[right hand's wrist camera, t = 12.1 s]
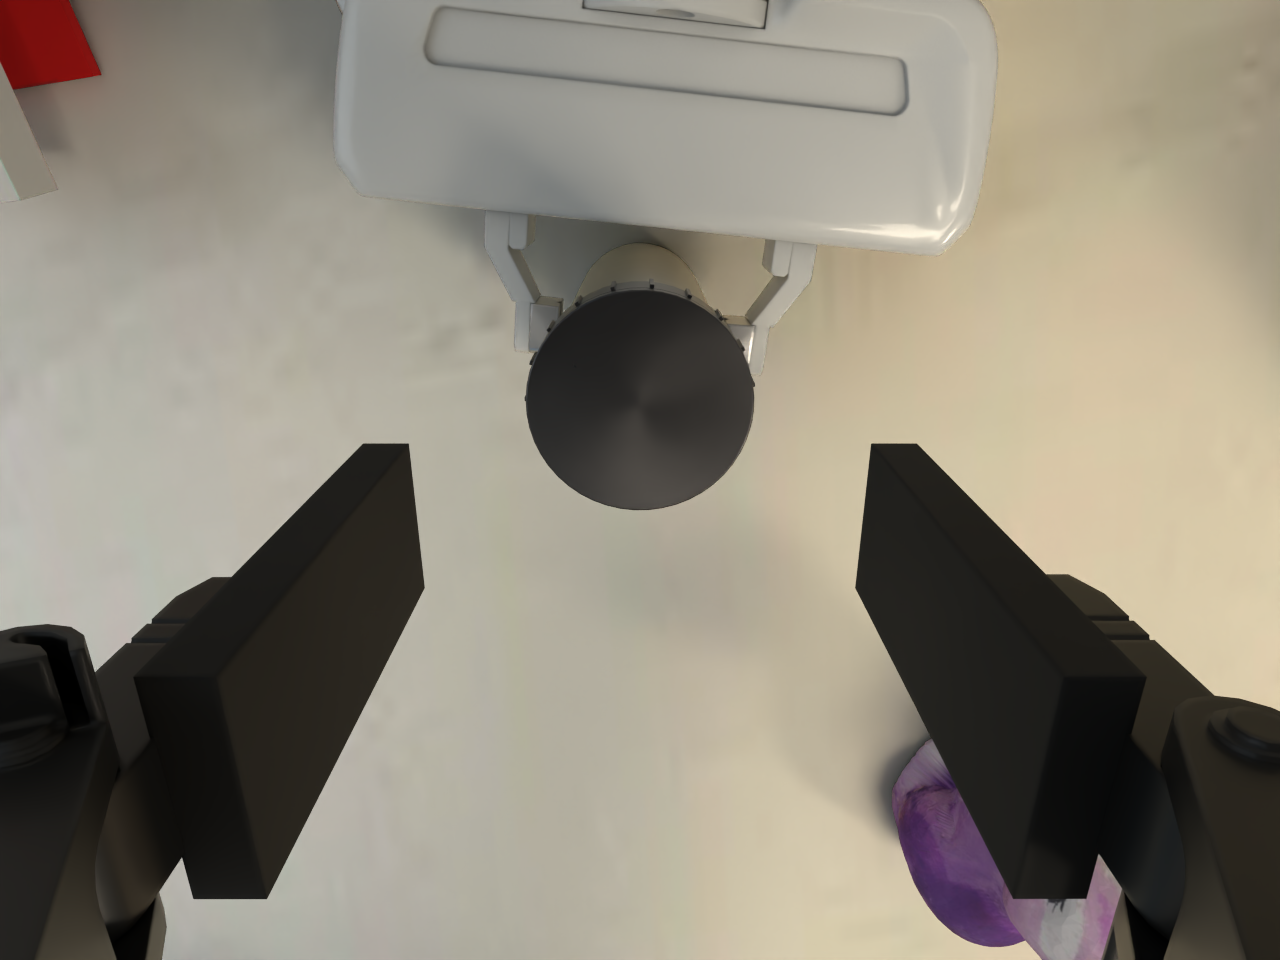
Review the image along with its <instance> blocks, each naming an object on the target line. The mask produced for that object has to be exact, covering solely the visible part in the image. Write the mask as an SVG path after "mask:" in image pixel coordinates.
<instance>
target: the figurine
mask: <svg viewBox="0 0 1280 960" xmlns="http://www.w3.org/2000/svg"><path fill="white" fill-rule="evenodd" d="M892 808H893V813H894V817H895V820H896V824H897V828H898V833H899V839H900V843H901V847H902V850H903V853H904V856H905V859H906V862H907V864H908V867H909V871H910V873H911V876H912V878H913V881H914V883H915V885H916V887H917V889H918V891H919V893H920V894H921V896H922V898H923V899H924V901H925V902H926V904H927V906H928V907H929V908H930V909H931V911H932V912H933V913H934V915H935V916H936V917H937V918H938V919H939V920H940V921H941V922H942V923H943V924H944V925H945V926H946V927H947V928H949V929H950V930H951V931H952V932H953V933H955V934H956V935H958V936H960V937H961V938H963V939H965V940H967V941H969V942H972V943H975V944H979V945H982V946H988V947H1004V946H1010V945H1014V944H1017V943H1019V942H1022V941H1025V940H1026V942H1027V943H1028V944H1029V945H1030V946H1031V947H1032V948H1033V949H1034V951H1035V952H1036V953H1037V954H1038V955H1039V956H1040V958H1041V959H1042V960H1101V959H1102V955H1103V952H1104V948H1105V945H1106V942H1107V938H1108V935H1109V931H1110V928H1111V924H1112V921H1113V918H1114V914H1115V911H1116V907H1117V904H1118V901H1119V897H1120V894H1121V890H1122V888H1121V886H1120V885H1119V883H1118V882H1117V880H1116V879H1115V877H1114V876H1113V874H1112V873H1111V871H1110V870H1109V868H1108V867H1107V865H1106V864H1105V862H1104V861H1103V859H1102V858H1101V856H1100V855H1098V858H1097V862H1096V866H1095V869H1094V873H1093V877H1092V880H1091V884H1090V888H1089V891H1088V895H1087V899H1013V898H1012V896H1011V894H1010V892H1009V890H1008V888H1007V886H1006V884H1005V882H1004V880H1003V878H1002V876H1001V874H1000V872H999V870H998V868H997V866H996V864H995V862H994V860H993V858H992V856H991V854H990V852H989V850H988V848H987V846H986V845H985V843H984V841H983V839H982V837H981V835H980V833H979V831H978V829H977V827H976V825H975V823H974V821H973V819H972V817H971V815H970V813H969V811H968V809H967V807H966V805H965V803H964V801H963V799H962V797H961V795H960V793H959V791H958V789H957V787H956V785H955V783H954V781H953V779H952V777H951V776H950V774H949V772H948V770H947V768H946V766H945V764H944V762H943V760H942V758H941V756H940V754H939V752H938V750H937V748H936V746H935V744H934V742H933V740H932V739H930V740H928V741H927V742H925V745H923V746H922V747H921V748H920V749H919V750H918V751H917V752H916V755H915V756H914V757H912V758H911V760H910V762H909V763H908V764H907V765H906V767H905V768H904V769H903V771H902V773H901V775H900V776H899V778H898V780H897V782H896V783H895V785H894V787H893V789H892Z"/></svg>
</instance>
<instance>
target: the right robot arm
mask: <svg viewBox="0 0 1280 960" xmlns="http://www.w3.org/2000/svg"><path fill="white" fill-rule="evenodd" d="M424 588H425V587H424V578H423V569H422V560H421V551H420V542H419V533H418V523H417V514H416V505H415V496H414V487H413V478H412V469H411V460H410V451H409V444H362V445H361V446H360V447H359V448H358V449H357V450H356V451H355V453H354V454H353V455H352V456H351V457H350V458H349V459H348V460H347V461H346V462H345V463H344V464H343V465H342V466H341V467H340V468H339V469H338V470H337V471H336V472H335V473H334V474H333V475H332V476H331V477H330V478H329V479H328V480H327V481H326V482H325V483H324V484H323V485H322V486H321V487H320V488H319V489H318V490H317V491H316V492H315V493H314V494H313V495H312V496H311V497H310V498H309V499H308V500H307V501H306V502H305V503H304V504H303V505H302V506H301V507H300V508H299V509H298V510H297V511H296V512H295V513H294V514H293V515H292V516H291V517H290V518H289V519H288V520H287V521H286V522H285V523H284V524H283V525H282V526H281V528H280V529H279V530H278V531H277V532H276V533H275V534H274V535H273V536H272V537H271V538H270V539H269V540H268V541H267V542H266V543H265V544H264V545H263V546H262V547H261V548H260V549H259V550H258V551H257V552H256V553H255V554H254V555H253V556H252V557H251V558H250V559H249V560H248V561H247V562H246V563H245V564H244V565H243V566H242V567H241V568H240V569H239V570H238V571H237V572H236V573H235V574H234V575H233V576H232V577H212V578H210V579H208V580H206V581H204V582H202V583H201V584H199V585H197V586H195V587H193V588H191V589H189V590H188V591H186V592H184V593H182V594H180V595H178V596H176V597H175V598H174V599H173V600H172V601H171V602H170V603H169V604H168V605H167V606H166V607H164V608H163V609H162V610H161V611H160V612H159V613H158V614H157V615H156V616H155V617H154V618H153V619H152V624H146V625H145V626H144V627H143V628H142V629H141V630H140V631H139V632H138V633H137V634H136V635H135V636H133V637H132V641H131V643H126V644H125V645H124V646H123V647H122V648H121V649H120V650H118V651H117V652H116V653H115V654H114V655H113V656H112V657H111V658H110V659H109V660H108V661H107V662H106V663H105V664H103V665H102V666H101V667H100V668H99V669H98V670H97V671H96V672H95V671H94V668H93V665H92V661H91V658H90V654H89V651H88V648H87V644H86V641H85V637H84V635H83V634H81V633H80V632H78V631H77V630H75V629H73V628H72V627H67V626H59V625H50V624H44V625H34V626H23V627H15V628H11V629H7V630H3V631H0V960H162V955H163V948H164V941H165V934H166V928H167V926H166V919H165V912H164V907H163V904H162V901H161V897H160V894H159V891H160V889H161V888H162V886H163V885H164V883H165V882H166V880H167V879H168V877H169V876H170V874H171V873H172V871H173V870H174V868H175V867H176V865H177V864H178V862H179V861H180V859H181V858H183V862H184V866H185V869H186V873H187V877H188V880H189V884H190V888H191V891H192V895H193V899H267V898H268V896H269V894H270V892H271V890H272V888H273V886H274V884H275V882H276V880H277V878H278V876H279V874H280V872H281V870H282V868H283V866H284V864H285V862H286V860H287V858H288V856H289V854H290V852H291V850H292V848H293V846H294V845H295V843H296V841H297V839H298V837H299V835H300V833H301V831H302V829H303V827H304V825H305V823H306V821H307V819H308V817H309V815H310V813H311V811H312V809H313V807H314V805H315V803H316V801H317V799H318V797H319V795H320V793H321V791H322V789H323V787H324V785H325V783H326V781H327V779H328V777H329V775H330V774H331V772H332V770H333V768H334V766H335V764H336V762H337V760H338V758H339V756H340V754H341V752H342V750H343V748H344V746H345V744H346V742H347V740H348V738H349V736H350V734H351V732H352V730H353V728H354V726H355V724H356V722H357V720H358V718H359V716H360V714H361V712H362V710H363V708H364V706H365V705H366V703H367V701H368V699H369V697H370V695H371V693H372V691H373V689H374V687H375V685H376V683H377V681H378V679H379V677H380V675H381V673H382V671H383V669H384V667H385V665H386V663H387V661H388V659H389V657H390V655H391V653H392V651H393V649H394V647H395V645H396V643H397V641H398V639H399V637H400V635H401V634H402V632H403V630H404V628H405V626H406V624H407V622H408V620H409V618H410V616H411V614H412V612H413V610H414V608H415V606H416V604H417V602H418V600H419V598H420V596H421V594H422V592H423V590H424ZM855 588H856V590H857V592H858V594H859V596H860V598H861V600H862V602H863V604H864V606H865V608H866V610H867V612H868V614H869V616H870V618H871V620H872V622H873V624H874V626H875V628H876V630H877V632H878V634H879V635H880V637H881V639H882V641H883V643H884V645H885V647H886V649H887V651H888V653H889V655H890V657H891V659H892V661H893V663H894V665H895V667H896V669H897V671H898V673H899V675H900V677H901V679H902V681H903V683H904V685H905V687H906V689H907V691H908V693H909V695H910V697H911V699H912V701H913V703H914V705H915V706H916V708H917V710H918V712H919V714H920V716H921V718H922V720H923V722H924V724H925V726H926V728H927V730H928V732H929V734H930V736H931V738H932V740H933V742H934V744H935V746H936V748H937V750H938V752H939V754H940V756H941V758H942V760H943V762H944V764H945V766H946V768H947V770H948V772H949V774H950V776H951V777H952V779H953V781H954V783H955V785H956V787H957V789H958V791H959V793H960V795H961V797H962V799H963V801H964V803H965V805H966V807H967V809H968V811H969V813H970V815H971V817H972V819H973V821H974V823H975V825H976V827H977V829H978V831H979V833H980V835H981V837H982V839H983V841H984V843H985V845H986V846H987V848H988V850H989V852H990V854H991V856H992V858H993V860H994V862H995V864H996V866H997V868H998V870H999V872H1000V874H1001V876H1002V878H1003V880H1004V882H1005V884H1006V886H1007V888H1008V890H1009V892H1010V894H1011V896H1012V898H1013V899H1087V895H1088V891H1089V888H1090V884H1091V880H1092V877H1093V873H1094V869H1095V866H1096V862H1097V858H1098V855H1100V856H1101V858H1102V859H1103V861H1104V862H1105V864H1106V865H1107V867H1108V868H1109V870H1110V871H1111V873H1112V874H1113V876H1114V877H1115V879H1116V880H1117V882H1118V883H1119V885H1120V886H1121V888H1122V890H1121V894H1120V897H1119V901H1118V904H1117V907H1116V911H1115V914H1114V918H1113V921H1112V924H1111V928H1110V931H1109V935H1108V938H1107V942H1106V945H1105V948H1104V952H1103V955H1102V959H1101V960H1280V711H1278V710H1276V709H1273V708H1271V707H1267V706H1264V705H1260V704H1257V703H1253V702H1250V701H1246V700H1243V699H1239V698H1229V697H1220V696H1214V695H1213V694H1212V693H1211V692H1210V691H1209V690H1208V689H1207V688H1206V687H1205V686H1204V685H1202V684H1201V683H1200V682H1199V681H1198V680H1197V679H1196V678H1195V677H1194V676H1193V675H1192V674H1191V673H1190V672H1188V671H1187V670H1186V669H1185V668H1184V667H1183V666H1182V665H1181V664H1180V663H1179V662H1178V661H1177V660H1175V659H1174V658H1173V657H1172V656H1171V655H1170V654H1169V653H1168V652H1167V651H1166V650H1165V649H1164V648H1163V647H1161V646H1160V645H1159V644H1158V643H1157V642H1156V641H1155V640H1150V639H1149V634H1147V633H1146V632H1145V631H1144V630H1143V629H1142V628H1141V627H1140V626H1139V625H1138V624H1137V623H1136V622H1134V621H1129V616H1128V615H1127V614H1126V613H1125V612H1124V611H1123V610H1122V609H1120V608H1119V607H1118V606H1117V605H1116V604H1115V603H1114V602H1113V601H1112V600H1111V599H1110V598H1109V597H1108V596H1106V595H1105V594H1104V593H1102V592H1100V591H1098V590H1097V589H1095V588H1093V587H1091V586H1089V585H1087V584H1085V583H1083V582H1081V581H1080V580H1078V579H1076V578H1074V577H1072V576H1070V575H1068V574H1045V573H1044V572H1043V571H1042V570H1041V569H1040V568H1039V567H1038V566H1037V565H1036V564H1035V563H1034V562H1033V561H1032V560H1031V559H1030V558H1029V557H1028V556H1027V555H1026V554H1025V553H1024V552H1023V551H1022V550H1021V549H1020V548H1019V547H1018V546H1017V545H1016V544H1015V543H1014V542H1013V541H1012V540H1011V539H1010V538H1009V537H1008V536H1007V535H1006V534H1005V533H1004V532H1003V531H1002V530H1001V529H1000V528H999V526H998V525H997V524H996V523H995V522H994V521H993V520H992V519H991V518H990V517H989V516H988V515H987V514H986V513H985V512H984V511H983V510H982V509H981V508H980V507H979V506H978V505H977V504H976V503H975V502H974V501H973V500H972V499H971V498H970V497H969V496H968V495H967V494H966V493H965V492H964V491H963V490H962V489H961V488H960V487H959V486H958V485H957V484H956V483H955V482H954V481H953V480H952V479H951V478H950V477H949V476H948V475H947V474H946V473H945V472H944V471H943V470H942V469H941V468H940V467H939V466H938V465H937V464H936V463H935V462H934V461H933V460H932V459H931V458H930V457H929V456H928V455H927V454H926V453H925V451H924V450H923V449H922V448H921V447H920V446H919V445H918V444H871V451H870V460H869V469H868V478H867V487H866V496H865V505H864V514H863V523H862V533H861V542H860V551H859V560H858V569H857V578H856V587H855Z"/></svg>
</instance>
